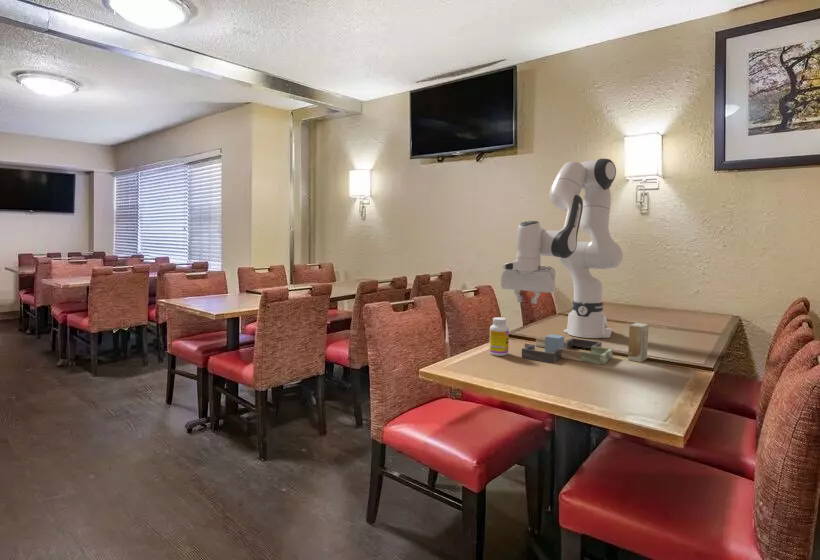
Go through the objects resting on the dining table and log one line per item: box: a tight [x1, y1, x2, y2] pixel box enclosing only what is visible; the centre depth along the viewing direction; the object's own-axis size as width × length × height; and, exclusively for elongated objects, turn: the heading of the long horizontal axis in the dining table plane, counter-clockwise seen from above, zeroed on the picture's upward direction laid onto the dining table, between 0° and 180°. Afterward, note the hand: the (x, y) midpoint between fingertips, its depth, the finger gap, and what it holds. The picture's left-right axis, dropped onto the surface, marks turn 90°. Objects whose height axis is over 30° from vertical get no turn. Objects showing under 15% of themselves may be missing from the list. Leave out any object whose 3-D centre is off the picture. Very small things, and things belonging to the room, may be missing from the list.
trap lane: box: [521, 337, 614, 366], centre depth 170 cm, size 27×28×3 cm
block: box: [544, 333, 565, 353], centre depth 173 cm, size 5×5×6 cm
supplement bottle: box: [488, 316, 510, 357], centre depth 171 cm, size 7×7×13 cm
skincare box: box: [627, 322, 650, 363], centre depth 163 cm, size 6×4×12 cm
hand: (526, 302), depth 178 cm, fingers open, 4 cm apart
